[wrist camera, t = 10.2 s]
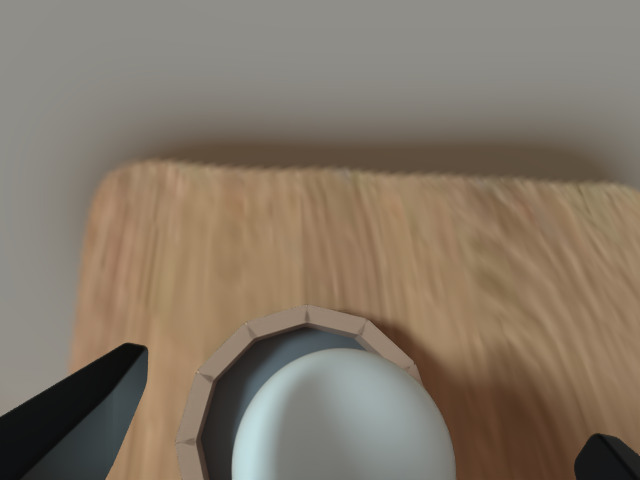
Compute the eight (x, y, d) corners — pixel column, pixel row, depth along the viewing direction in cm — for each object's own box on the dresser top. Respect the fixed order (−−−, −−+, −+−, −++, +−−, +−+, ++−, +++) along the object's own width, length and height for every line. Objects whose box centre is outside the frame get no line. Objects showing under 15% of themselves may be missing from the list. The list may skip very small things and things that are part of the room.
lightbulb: (332, 336, 22) (380, 287, 12) (416, 449, 21) (553, 506, 11) (220, 421, 21) (162, 452, 10) (304, 549, 19) (336, 735, 9)
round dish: (216, 617, 19) (209, 644, 17) (161, 349, 22) (150, 344, 20) (460, 517, 21) (480, 531, 19) (378, 285, 24) (388, 275, 22)
